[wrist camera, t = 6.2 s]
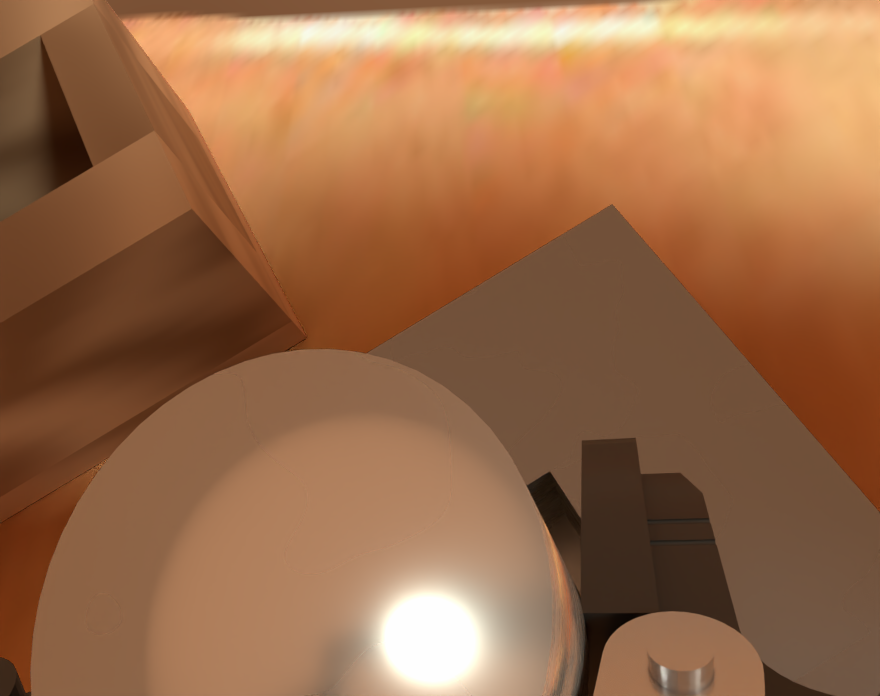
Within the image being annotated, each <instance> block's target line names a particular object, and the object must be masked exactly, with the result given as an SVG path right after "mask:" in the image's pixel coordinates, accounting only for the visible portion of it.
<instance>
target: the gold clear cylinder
mask: <svg viewBox="0 0 880 696" xmlns="http://www.w3.org/2000/svg"><path fill="white" fill-rule="evenodd" d="M580 600H581V595H580V593H579V591H578V589H577V587H576V585H575V583H574V581H573V579H572V577H571V575H570V573H569V571H568V569H567V567H566V565H565V563H564V561H563V559H562V557H561V555H560V553H559V551H558V549H557V547H556V545H555V543H554V541H553V539H552V537H551V535H550V533H549V530H548V528H547V526H546V524H545V522H544V520H543V518H542V516H541V514H540V512H539V510H538V508H537V506H536V504H535V502H534V500H533V498H532V496H531V494H530V492H529V490H528V488H527V486H526V484H525V482H524V480H523V478H522V477H521V475H520V473H519V471H518V469H517V467H516V465H515V464H514V462H513V460H512V458H511V456H510V455H509V453H508V452H507V450H506V449H505V448H504V446H503V445H502V444H501V442H500V441H499V439H498V438H497V437H496V435H495V434H494V433H493V431H492V430H491V428H490V427H489V426H488V425H487V424H486V423H485V422H484V421H483V420H482V419H481V418H480V417H479V416H478V415H477V414H476V413H475V412H474V411H473V410H472V409H471V408H470V407H469V406H468V405H467V404H466V403H465V402H463V401H462V400H461V399H460V398H458V397H457V396H456V395H454V394H453V393H452V392H451V391H449V390H448V389H447V388H445V387H444V386H443V385H441V384H439V383H438V382H436V381H434V380H432V379H431V378H429V377H427V376H425V375H424V374H422V373H420V372H419V371H417V370H414V369H412V368H409V367H407V366H404V365H402V364H399V363H397V362H394V361H392V360H389V359H386V358H382V357H378V356H374V355H370V354H366V353H362V352H354V351H345V350H337V349H302V350H295V351H288V352H281V353H274V354H270V355H266V356H263V357H259V358H255V359H251V360H248V361H244V362H242V363H239V364H237V365H234V366H232V367H229V368H226V369H224V370H221V371H219V372H216V373H215V374H213V375H211V376H209V377H207V378H205V379H203V380H201V381H200V382H198V383H196V384H194V385H192V386H190V387H189V388H187V389H186V390H184V391H183V392H181V393H180V394H178V395H177V396H175V397H174V398H172V399H171V400H169V401H168V402H166V403H165V404H163V405H162V406H161V407H160V408H159V409H158V410H156V411H155V412H154V413H153V414H152V415H150V416H149V417H148V418H147V419H146V420H144V421H143V422H142V423H141V424H140V425H139V426H138V427H137V428H136V429H135V430H134V431H133V432H132V433H131V434H130V435H129V436H128V437H127V438H126V439H125V440H124V441H123V442H122V443H121V444H120V445H119V446H118V447H117V448H116V450H115V451H114V452H113V453H112V455H111V456H110V457H109V458H108V460H107V461H106V462H105V463H104V465H103V466H102V467H101V469H100V470H99V471H98V472H97V474H96V475H95V476H94V478H93V480H92V481H91V483H90V484H89V486H88V487H87V489H86V490H85V492H84V494H83V495H82V497H81V498H80V500H79V501H78V503H77V505H76V507H75V509H74V511H73V513H72V515H71V516H70V518H69V520H68V522H67V524H66V526H65V528H64V530H63V532H62V534H61V537H60V539H59V542H58V544H57V547H56V549H55V552H54V554H53V557H52V559H51V562H50V564H49V567H48V571H47V574H46V578H45V581H44V585H43V588H42V592H41V595H40V599H39V604H38V609H37V615H36V621H35V626H34V632H33V640H32V655H31V669H30V677H31V696H589V693H588V679H589V649H588V639H587V633H586V626H585V620H584V616H583V612H582V608H581V603H580Z"/></svg>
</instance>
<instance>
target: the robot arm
mask: <svg viewBox="0 0 880 696" xmlns="http://www.w3.org/2000/svg"><path fill="white" fill-rule="evenodd" d="M580 603H581V608H582V612H583V616H584V620H585V626H586V633H587V639H588V649H589V679H588V693H589V696H834V695H830V694H826V693H823V692H820V691H816V690H813V689H810V688H807V687H805V686H803V685H800V684H798V683H795V682H793V681H791V680H790V679H788V678H786V677H784V676H782V675H780V674H779V673H777V672H776V671H774V670H773V669H771V668H770V667H768V666H767V665H766V664H765V663H764V662H763V661H761V659H760V657H759V654H758V653H757V651H756V650H755V648H754V647H753V645H752V644H751V643H750V642H749V641H748V640H747V639H746V638H745V637H744V636H743V635H742V634H741V631H740V629H739V625H738V621H737V618H736V614H735V610H734V607H733V603H732V599H731V596H730V592H729V588H728V585H727V581H726V577H725V573H724V570H723V566H722V562H721V559H720V555H719V551H718V548H717V545H716V543H715V537H714V533H713V529H712V526H711V523H710V518H709V514H708V511H707V507H706V503H705V500H704V496H703V493H702V492H701V491H700V490H699V489H698V488H697V487H696V486H694V485H693V484H692V483H691V482H690V481H689V480H688V479H687V478H686V477H685V476H683V475H682V474H681V473H655V474H641V472H640V464H639V457H638V449H637V442H636V438H620V439H599V440H582V461H581V600H580ZM0 696H31V692H28V693H25V690H24V688H23V685H22V683H21V681H20V678H19V676H18V673H17V671H16V669H15V667H14V665H13V664H12V663H11V662H10V661H9V660H7V659H4V658H1V657H0ZM878 696H880V693H879V694H878Z"/></svg>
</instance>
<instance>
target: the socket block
mask: <svg viewBox="0 0 880 696" xmlns="http://www.w3.org/2000/svg"><path fill="white" fill-rule="evenodd" d="M366 354H370V355H374V356H378V357H382V358H386V359H389V360H392V361H394V362H397V363H399V364H402V365H404V366H407V367H409V368H412V369H414V370H417V371H419V372H420V373H422V374H424V375H425V376H427V377H429V378H431V379H432V380H434V381H436V382H438V383H439V384H441V385H443V386H444V387H445V388H447V389H448V390H449V391H451V392H452V393H453V394H454V395H456V396H457V397H458V398H460V399H461V400H462V401H463V402H465V403H466V404H467V405H468V406H469V407H470V408H471V409H472V410H473V411H474V412H475V413H476V414H477V415H478V416H479V417H480V418H481V419H482V420H483V421H484V422H485V423H486V424H487V425H488V426H489V427H490V428H491V430H492V431H493V433H494V434H495V435H496V437H497V438H498V439H499V441H500V442H501V444H502V445H503V446H504V448H505V449H506V450H507V452H508V453H509V455H510V456H511V458H512V460H513V462H514V464H515V465H516V467H517V469H518V471H519V473H520V475H521V477H522V478H523V480H524V482H525V484H526V486H527V488H528V490H529V492H530V494H531V496H532V498H533V500H534V502H535V504H536V506H537V508H538V510H539V512H540V514H541V516H542V518H543V520H544V522H545V524H546V526H547V528H548V530H549V533H550V535H551V537H552V539H553V541H554V543H555V545H556V547H557V549H558V551H559V553H560V555H561V557H562V559H563V561H564V563H565V565H566V567H567V569H568V571H569V573H570V575H571V577H572V579H573V581H574V583H575V585H576V587H577V589H578V591H579V593H580V595H581V461H582V440H599V439H620V438H636V442H637V449H638V457H639V464H640V472H641V474H655V473H681V474H682V475H683V476H685V477H686V478H687V479H688V480H689V481H690V482H691V483H692V484H693V485H694V486H696V487H697V488H698V489H699V490H700V491H701V492H702V493H703V496H704V500H705V503H706V507H707V511H708V514H709V518H710V523H711V526H712V529H713V533H714V537H715V543H716V545H717V548H718V551H719V555H720V559H721V562H722V566H723V570H724V573H725V577H726V581H727V585H728V588H729V592H730V596H731V599H732V603H733V607H734V610H735V614H736V618H737V621H738V625H739V629H740V631H741V634H742V635H743V636H744V637H745V638H746V639H747V640H748V641H749V642H750V643H751V644H752V645H753V647H754V648H755V650H756V651H757V653H758V654H759V657H760V659H761V661H763V662H764V663H765V664H766V665H767V666H768V667H770V668H771V669H773V670H774V671H776V672H777V673H779V674H780V675H782V676H784V677H786V678H788V679H790V680H791V681H793V682H795V683H798V684H800V685H803V686H805V687H807V688H810V689H813V690H816V691H820V692H823V693H826V694H830V695H834V696H878V694H879V693H880V512H879V511H878V510H877V509H876V507H875V506H874V505H873V504H872V503H871V502H870V501H869V499H868V498H867V497H866V496H865V495H864V494H863V492H862V491H861V490H860V489H859V488H858V487H857V486H856V484H855V483H854V482H853V481H852V480H851V479H850V477H849V476H848V475H847V474H846V473H845V472H844V471H843V469H842V468H841V467H840V466H839V465H838V464H837V463H836V461H835V460H834V459H833V458H832V457H831V456H830V454H829V453H828V452H827V451H826V450H825V449H824V448H823V446H822V445H821V444H820V443H819V442H818V441H817V439H816V438H815V437H814V436H813V435H812V434H811V433H810V431H809V430H808V429H807V428H806V427H805V426H804V424H803V423H802V422H801V421H800V420H799V419H798V418H797V416H796V415H795V414H794V413H793V412H792V411H791V410H790V408H789V407H788V406H787V405H786V404H785V403H784V401H783V400H782V399H781V398H780V397H779V396H778V395H777V393H776V392H775V391H774V390H773V389H772V388H771V386H770V385H769V384H768V383H767V382H766V381H765V380H764V378H763V377H762V376H761V375H760V374H759V373H758V372H757V370H756V369H755V368H754V367H753V366H752V365H751V363H750V362H749V361H748V360H747V359H746V358H745V357H744V355H743V354H742V353H741V352H740V351H739V350H738V348H737V347H736V346H735V345H734V344H733V343H732V342H731V340H730V339H729V338H728V337H727V336H726V335H725V334H724V332H723V331H722V330H721V329H720V328H719V327H718V325H717V324H716V323H715V322H714V321H713V320H712V319H711V317H710V316H709V315H708V314H707V313H706V312H705V310H704V309H703V308H702V307H701V306H700V305H699V304H698V302H697V301H696V300H695V299H694V298H693V297H692V295H691V294H690V293H689V292H688V291H687V290H686V289H685V287H684V286H683V285H682V284H681V283H680V282H679V281H678V279H677V278H676V277H675V276H674V275H673V274H672V272H671V271H670V270H669V269H668V268H667V267H666V266H665V264H664V263H663V262H662V261H661V260H660V259H659V257H658V256H657V255H656V254H655V253H654V252H653V251H652V249H651V248H650V247H649V246H648V245H647V244H646V243H645V241H644V240H643V239H642V238H641V237H640V236H639V234H638V233H637V232H636V231H635V230H634V229H633V228H632V226H631V225H630V224H629V223H628V222H627V221H626V219H625V218H624V217H623V216H622V215H621V214H620V213H619V211H618V210H617V209H616V208H615V207H614V206H613V205H610V206H608V207H607V208H605V209H604V210H602V211H600V212H599V213H597V214H595V215H594V216H592V217H590V218H589V219H587V220H585V221H584V222H582V223H580V224H579V225H577V226H575V227H574V228H572V229H571V230H569V231H567V232H566V233H564V234H562V235H561V236H559V237H557V238H556V239H554V240H552V241H551V242H549V243H547V244H546V245H544V246H542V247H541V248H539V249H538V250H536V251H534V252H533V253H531V254H529V255H528V256H526V257H524V258H523V259H521V260H519V261H518V262H516V263H514V264H513V265H511V266H509V267H508V268H506V269H505V270H503V271H501V272H500V273H498V274H496V275H495V276H493V277H491V278H490V279H488V280H486V281H485V282H483V283H481V284H480V285H478V286H476V287H475V288H473V289H472V290H470V291H468V292H467V293H465V294H463V295H462V296H460V297H458V298H457V299H455V300H453V301H452V302H450V303H448V304H447V305H445V306H444V307H442V308H440V309H439V310H437V311H435V312H434V313H432V314H430V315H429V316H427V317H425V318H424V319H422V320H420V321H419V322H417V323H415V324H414V325H412V326H411V327H409V328H407V329H406V330H404V331H402V332H401V333H399V334H397V335H396V336H394V337H392V338H391V339H389V340H387V341H386V342H384V343H382V344H381V345H379V346H378V347H376V348H374V349H373V350H371V351H369V352H368V353H366Z"/></svg>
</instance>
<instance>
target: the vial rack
mask: <svg viewBox="0 0 880 696" xmlns="http://www.w3.org/2000/svg"><path fill="white" fill-rule="evenodd" d="M306 338H307V336H306V335H305V333H304V331H303V329H302V327H301V325H300V323H299V321H298V319H297V317H296V315H295V313H294V312H293V310H292V308H291V306H290V304H289V302H288V300H287V298H286V296H285V294H284V292H283V290H282V289H281V287H280V285H279V283H278V281H277V279H276V277H275V275H274V273H273V271H272V269H271V267H270V265H269V264H268V262H267V260H266V258H265V256H264V254H263V252H262V250H261V248H260V246H259V244H258V242H257V241H256V239H255V237H254V235H253V233H252V231H251V229H250V227H249V225H248V223H247V221H246V219H245V218H244V216H243V214H242V212H241V210H240V208H239V206H238V204H237V202H236V200H235V198H234V196H233V195H232V193H231V191H230V189H229V187H228V185H227V183H226V181H225V179H224V177H223V175H222V173H221V171H220V170H219V168H218V166H217V164H216V162H215V160H214V158H213V156H212V154H211V152H210V150H209V148H208V147H207V145H206V143H205V141H204V139H203V137H202V135H201V133H200V131H199V129H198V127H197V125H196V124H195V122H194V120H193V118H192V116H191V114H190V112H189V110H188V109H187V108H186V106H185V105H184V104H183V102H182V101H181V100H180V98H179V97H178V96H177V94H176V93H175V92H174V90H173V89H172V88H171V86H170V85H169V84H168V82H167V81H166V80H165V78H164V77H163V76H162V74H161V73H160V72H159V70H158V69H157V68H156V66H155V65H154V64H153V62H152V61H151V60H150V58H149V57H148V56H147V54H146V53H145V52H144V50H143V49H142V48H141V46H140V45H139V44H138V42H137V41H136V40H135V38H134V37H133V36H132V34H131V33H130V32H129V30H128V29H127V28H126V26H125V25H124V24H123V22H122V21H121V20H120V19H119V17H118V16H117V15H116V13H115V12H114V11H113V9H112V8H111V7H110V5H109V4H108V3H107V1H106V0H0V523H1V522H3V521H4V520H6V519H8V518H9V517H11V516H13V515H14V514H16V513H18V512H19V511H21V510H23V509H24V508H26V507H28V506H29V505H31V504H33V503H34V502H36V501H38V500H39V499H41V498H43V497H44V496H46V495H47V494H49V493H51V492H52V491H54V490H56V489H57V488H59V487H61V486H62V485H64V484H66V483H67V482H69V481H71V480H72V479H74V478H76V477H77V476H79V475H81V474H82V473H84V472H86V471H87V470H89V469H91V468H92V467H94V466H95V465H97V464H99V463H100V462H102V461H104V460H105V459H107V458H109V457H110V456H111V455H112V453H113V452H114V451H115V450H116V448H117V447H118V446H119V445H120V444H121V443H122V442H123V441H124V440H125V439H126V438H127V437H128V436H129V435H130V434H131V433H132V432H133V431H134V430H135V429H136V428H137V427H138V426H139V425H140V424H141V423H142V422H143V421H144V420H146V419H147V418H148V417H149V416H150V415H152V414H153V413H154V412H155V411H156V410H158V409H159V408H160V407H161V406H162V405H163V404H165V403H166V402H168V401H169V400H171V399H172V398H174V397H175V396H177V395H178V394H180V393H181V392H183V391H184V390H186V389H187V388H189V387H190V386H192V385H194V384H196V383H198V382H200V381H201V380H203V379H205V378H207V377H209V376H211V375H213V374H215V373H216V372H219V371H221V370H224V369H226V368H229V367H232V366H234V365H237V364H239V363H242V362H244V361H248V360H251V359H255V358H259V357H263V356H266V355H270V354H274V353H281V352H284V351H286V350H287V349H289V348H291V347H292V346H294V345H296V344H297V343H299V342H301V341H302V340H304V339H306Z"/></svg>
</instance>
